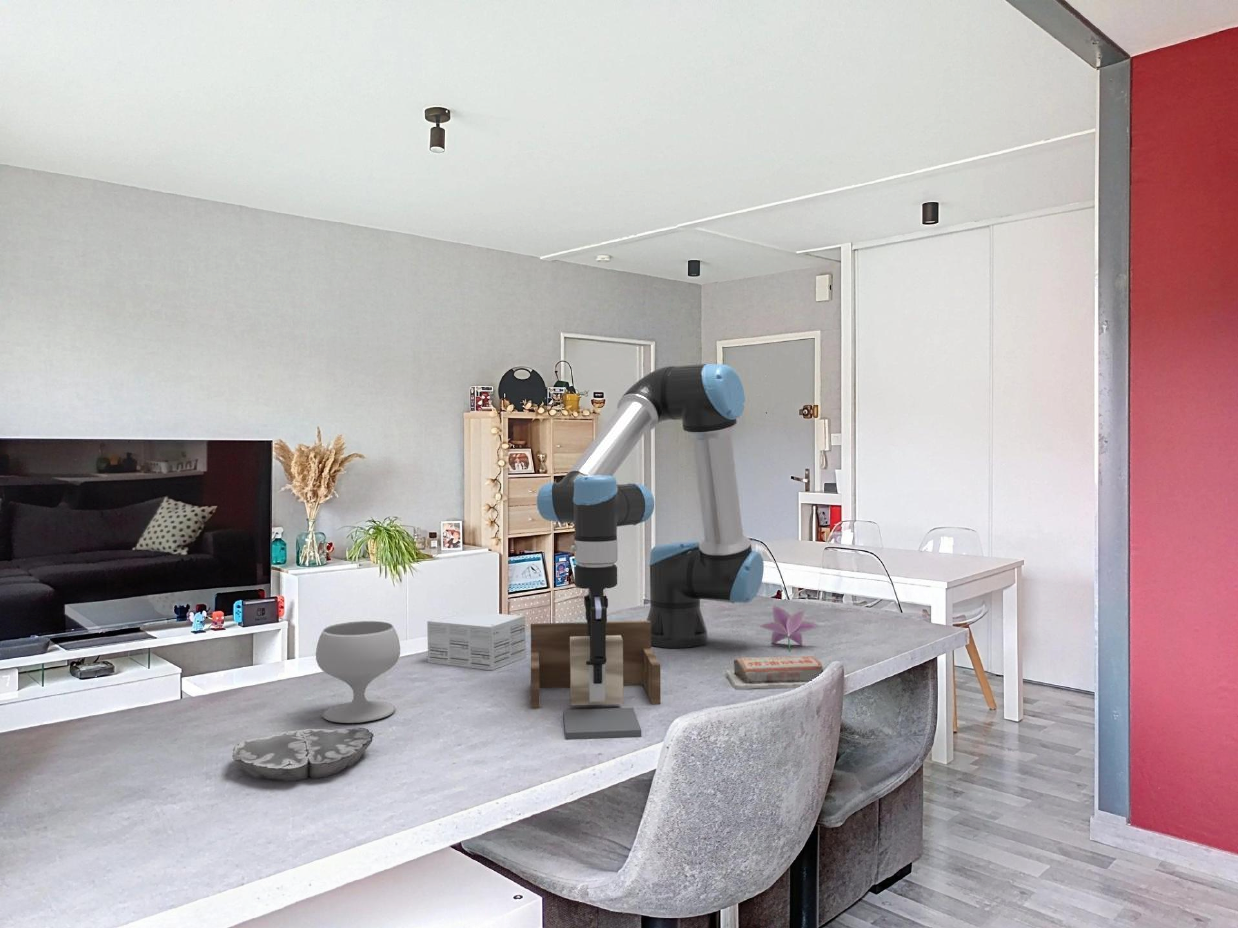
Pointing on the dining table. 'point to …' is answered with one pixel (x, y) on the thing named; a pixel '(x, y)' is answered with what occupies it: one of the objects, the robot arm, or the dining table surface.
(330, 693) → the dining table surface
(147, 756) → the dining table surface
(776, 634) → the lily
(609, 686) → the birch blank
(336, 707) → the chalice
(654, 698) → the walnut cubby
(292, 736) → the brain slice
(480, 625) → the supplement box
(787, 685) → the packaged product
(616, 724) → the charcoal mat
